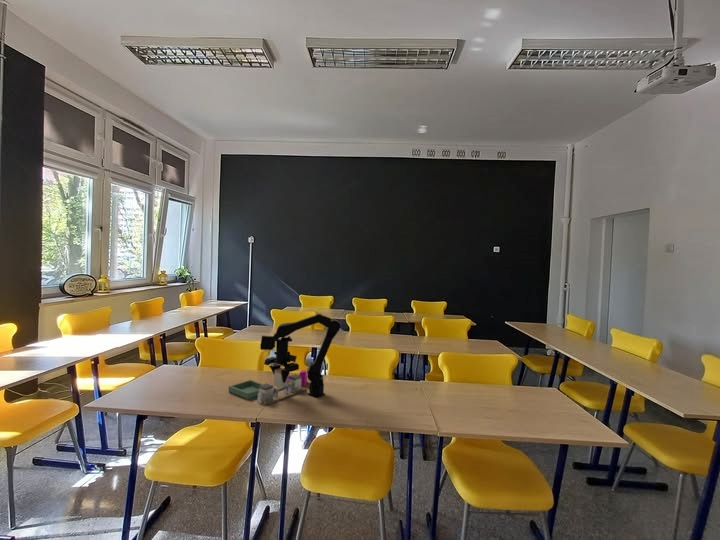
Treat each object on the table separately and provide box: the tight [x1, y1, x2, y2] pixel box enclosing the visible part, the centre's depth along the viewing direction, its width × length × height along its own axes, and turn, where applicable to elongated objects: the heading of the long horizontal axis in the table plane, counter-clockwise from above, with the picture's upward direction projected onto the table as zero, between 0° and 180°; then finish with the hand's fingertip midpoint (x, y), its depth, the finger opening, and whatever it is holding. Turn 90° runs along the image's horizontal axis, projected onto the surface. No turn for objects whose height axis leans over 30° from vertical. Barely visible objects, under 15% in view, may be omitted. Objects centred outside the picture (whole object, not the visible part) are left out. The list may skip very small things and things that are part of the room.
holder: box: [251, 373, 308, 407], centre depth 178 cm, size 11×26×7 cm, turn 145°
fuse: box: [273, 366, 288, 389], centre depth 178 cm, size 5×5×8 cm
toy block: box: [287, 369, 308, 387], centre depth 195 cm, size 15×6×8 cm, turn 86°
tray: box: [228, 379, 264, 401], centre depth 179 cm, size 15×13×3 cm
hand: (280, 381), depth 178 cm, fingers closed on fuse, 4 cm apart
